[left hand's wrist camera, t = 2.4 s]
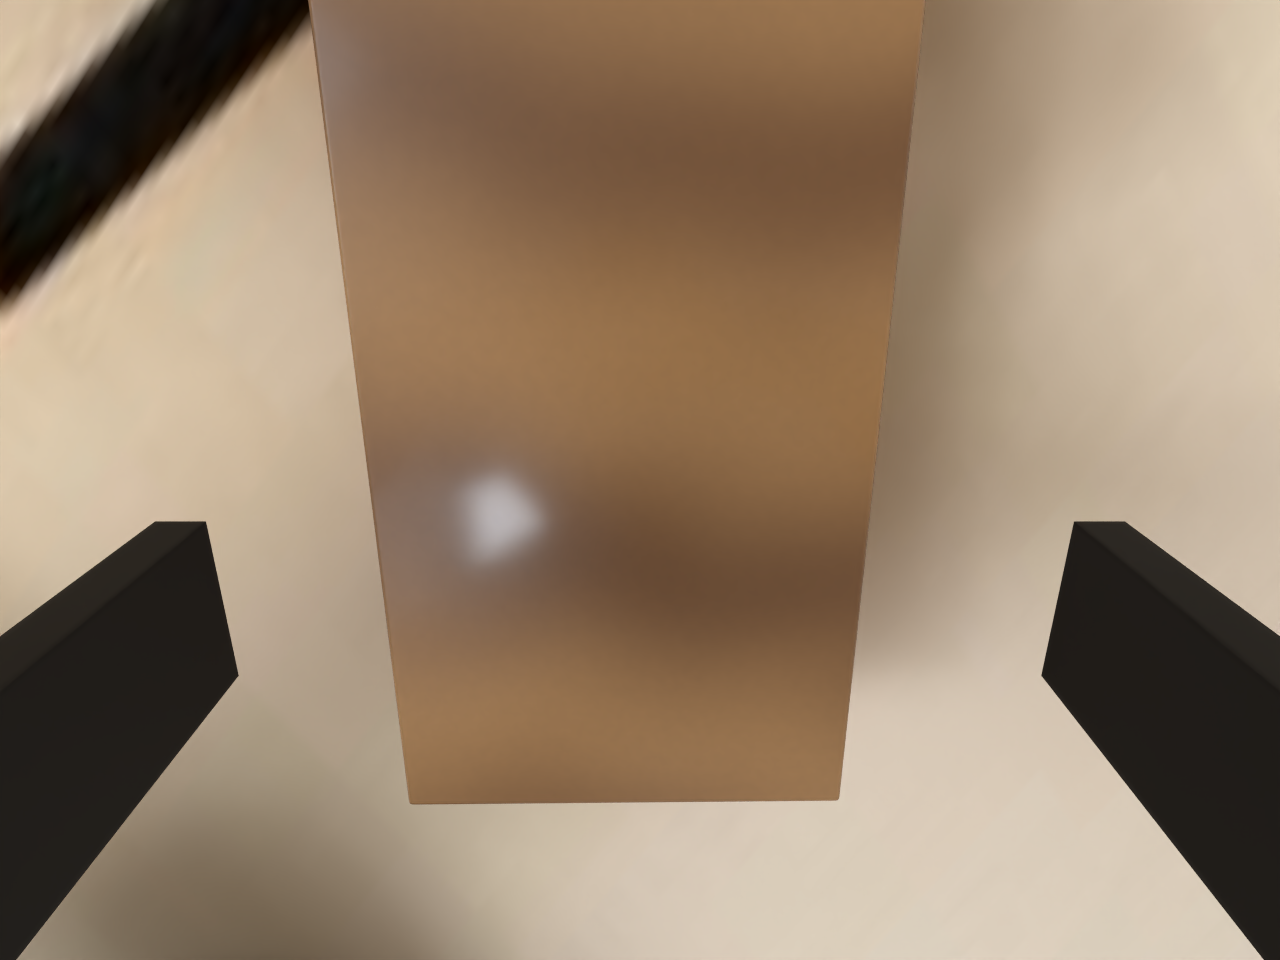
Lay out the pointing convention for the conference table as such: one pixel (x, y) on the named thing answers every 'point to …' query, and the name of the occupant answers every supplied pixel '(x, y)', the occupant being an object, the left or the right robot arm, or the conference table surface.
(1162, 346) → the conference table surface
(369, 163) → the long beam
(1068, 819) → the conference table surface
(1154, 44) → the conference table surface
